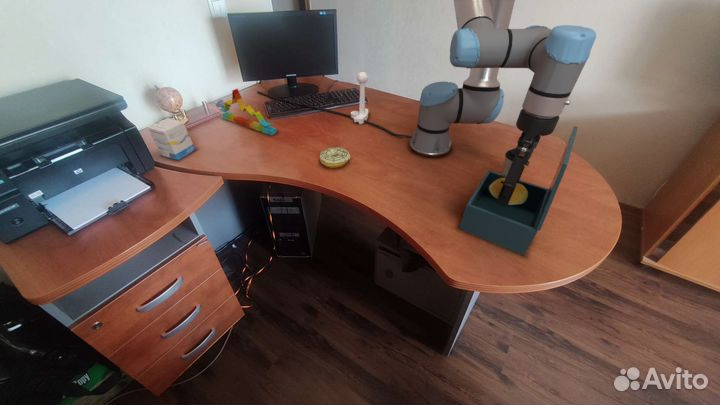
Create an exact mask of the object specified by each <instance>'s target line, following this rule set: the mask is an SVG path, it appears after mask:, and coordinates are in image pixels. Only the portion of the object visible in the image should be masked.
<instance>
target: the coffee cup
mask: <svg viewBox="0 0 720 405" xmlns="http://www.w3.org/2000/svg"><path fill="white" fill-rule="evenodd" d="M516 148H517V147H515V148H511V149H509V150H507V151H505V154H504V156H505V158H504V161H503V166H502V171H501V174H503V175H506V176H507V174H508V171H509V169H510V166H511V164H512V162H513V159H514V157H515V156H514V152H515V150H516ZM529 160H530V159H528V160H527V161H528V162H529ZM524 166H525V167H526V165H524Z"/></svg>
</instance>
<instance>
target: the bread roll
mask: <svg viewBox="0 0 720 405" xmlns="http://www.w3.org/2000/svg"><path fill="white" fill-rule="evenodd" d="M505 179H506V178H500V179H497V180H496V181H494V182H493V183H492V184H491V185H490V187H489V191H490V193H491V194H492V196H493V197H495V198H496V199H498V196H499V194H500V191H501V189H502V186H503V184H502V183H501V181H505ZM516 184H517V185H516V187H515V190H514V192H513V194H512V197H511V199H510V201H509V203H508V205H517V204H522V203H524V202H525V201H526V199H527V197H528V192H527V190H526V188H525V187H524V186H523V185H521V184H518V183H516Z"/></svg>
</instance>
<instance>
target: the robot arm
mask: <svg viewBox="0 0 720 405" xmlns="http://www.w3.org/2000/svg"><path fill="white" fill-rule="evenodd" d="M515 2H516V0H453V5H454V11H455V12H454V13H455V20H456V27H457V29H456V30H455V31H454V32H453V34H452V37H451V41H450V47H449V62H450V64H451V65H452V66H453V68H461V69H462V68H464V69H470V70H469V75H468V77H467V78H465V80H464V81H462V82H463V83H462V87H459V86H458V84H456V83H455V82H453V81H435V82H432V83H429V84H426V86H424V87H423V89H422V90H421V93H420V98H419V107H418V114H417V121H416V127H415V130H414V132H413V134H412V135H409V134H402V133H397V132H392V131H391V130H389V129H387V128H386V127H384V126H382V125H380V124H377V123H374V122H372V121H368V120H364V123H366V124H369V125H370V126H371V125H372V126H374V127H376V128H379V129H380V130H383V131H385V132H386V133H388V134H390V135H392V136H395V137H402V138H407V139H409V149H410V150H411V151H412V152H413V153H414V154H416V155H418V156H421V157H424V158H442V157H444V156H446V155H448V154H449V153H450V152H451V147H452V140H451V136H450V129H451V128H450V127H451V124H456V125H457V124H459V125H460V124H461V125H462V124H465V125H468V124H469V125H470V124H471V125H473V124H474V125H482V124H485V125H486V124H491V123H492V122H494V121H495V120H496V119H497V118H498V117H499V115H500V113H501V111H502V108H503V105H504V102H505V101H504V100H505V99H504V98H505V92H504V90H503V89H502V88H501V83H500V81H499V79H498V75H499V71H500V69H528V70H530V71H531V72H532V73H533V75H532V78H531V82H530V85H529V87H528V89H527V91H526V94H525V97H524V100H523V102H522V105H521V107H522V109H521V110H520V112H519V114H518V116H517V120H516V122H515V126H516V128H517V129H518V130H519V131H520V132H521V134H520V136H519V137H518V140H517V144H516V145H517V146H516V147H515V148H516V150H515V152H514V156H515V157H514V159H513V162H512V164H511V166H510V169H509V171H508V174H507V176H506V179H505V181H501V183H502V184H503V186H502V189H501V191H500V194H499V196H498V199H497V201H496V203H497V204H500V205H503V206H505V207H507V206H508V203H509V201H510V199H511V197H512V194H513V192H514V190H515V187H516V185H517V184H516V183H518V182H519V180H521V177H522V175H523V172H524V171H525V168H526V166H527V167H529V165H530V162H531V161H529V160H530V159H531V157H532V155H533V152H534V150H535V149H536V148H537V146H538V144H539V143H540V140H541V137H546V136H549V135H552V134H553V132H554V131H555V129H556V127H557V125H558V123H559V120H560V115H562V113H563V111H564V109H565V106H569V105H570V104H571V102H572V101H571V100H570V97H571V94H572V92H573V90H574V88H575V86H576V84H577V82H578V80H579V77H580V75H581V74H582V71H583V69H584V67H585V65H586V63H587V61H588V59H589V58H590V55H591V51H592V48H593V47H594V44H595V41H596V39H597V32H596V30H594V29H592V28H590V27H584V26H581V25H569V24H564V25H557V26H554V27H553V28H550V27H548V26H544V25H538V24H535V25H534V24H533V25H529V26H527V27H525V28H510V24H511V19H512V16H513V12H514V11H513V10H514V7H515ZM256 93H257V94H260V95H262V96H264V97H267V98H271V99H274V100H277V101H281V100H282V99H283V98H279V97H277V96H272V95H270V94H267V93H264V92H262V91H259V90H257V91H256ZM292 102H293V101H292ZM292 102H290V103H289V102H287V101H286V102H285V103H289V104H293V103H292ZM296 105H297V106H301V105H300V104H296ZM312 106H313V105H310V106H305V107H306V108H311V109H314V110H320V111H324V112H329V113H333V114H337V115H340V116H345V117H348V118H351V114H348V113H344V112H339V111H336V110H332V109H327V108H323V107H319V108H317V107H318V106H315V107H312ZM528 159H529V160H528ZM527 160H528V161H527ZM524 165H525V166H524Z"/></svg>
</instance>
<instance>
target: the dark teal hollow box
mask: <svg viewBox="0 0 720 405" xmlns="http://www.w3.org/2000/svg"><path fill="white" fill-rule="evenodd" d="M500 178H506V175H503V174H502V173H500V172H497V171H493V170H491V169H487V171H486V172H485V174H484V176H483V177H482V179H481V181H480V182H479V184H478V186H477V187H476V189H475V190H474V192H473V194H472V195H471V197H470V199H469V200H468V202H467V203H466V205H465V210H464V212H463V215H462V218H461V222H460V225H459V227H458V229H459V230H461V231H463V232H466V233H467V234H471V235H473V236H475V237H478V238H480V239H482V240H485V241H487V242H490V243H492V244H495V245H497V246H500V247H501V248H504V249H506V250H509V251H511V252H514V253H516V254H518V255H521V256H525V254H526V253H527V251H528V249H529V247H530V245H531V244H532V242H533V240H534V239H535V237H536V235H537V233H538V231H539V230H536V229H537V226H538V223H539V219H540V216H541V213H542V210H543V207H544V204H545V201H546V198H547V195H548V192H549V188H547V187H545V186H540V185H538V184H534V183H531V182H527V181H525V180H522V179H519V182H518V184H521V185H523V186H524V187H525V188H526V190H527V192H528V197H527V199H526V201H525V202H524V203H522V204H517V205H508V206H507V207H505V206H503V205H500V204H497V203H496V201H497V199H496V198H495V197H493V196H492V194H491V193H490V191H489V187H490V185H491V184H492V183H493V182H494V181H496V180H497V179H500Z"/></svg>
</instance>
